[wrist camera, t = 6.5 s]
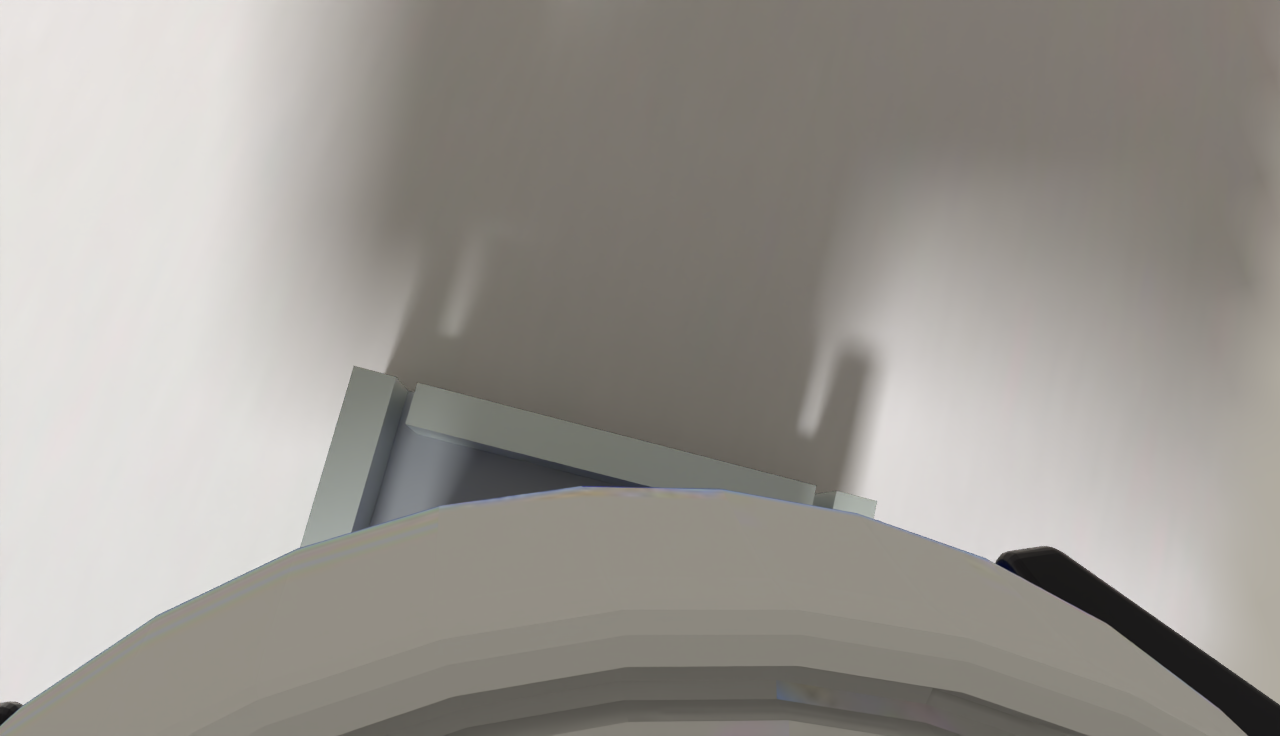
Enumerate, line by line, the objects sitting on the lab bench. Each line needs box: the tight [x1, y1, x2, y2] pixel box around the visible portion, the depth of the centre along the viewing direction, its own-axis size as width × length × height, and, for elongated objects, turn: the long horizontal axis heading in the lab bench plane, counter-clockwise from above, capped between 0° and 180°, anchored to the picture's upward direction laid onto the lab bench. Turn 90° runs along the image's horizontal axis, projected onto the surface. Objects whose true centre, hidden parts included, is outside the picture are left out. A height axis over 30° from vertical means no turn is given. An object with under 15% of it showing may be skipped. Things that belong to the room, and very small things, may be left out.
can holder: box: [300, 366, 877, 548], centre depth 16 cm, size 8×8×2 cm
